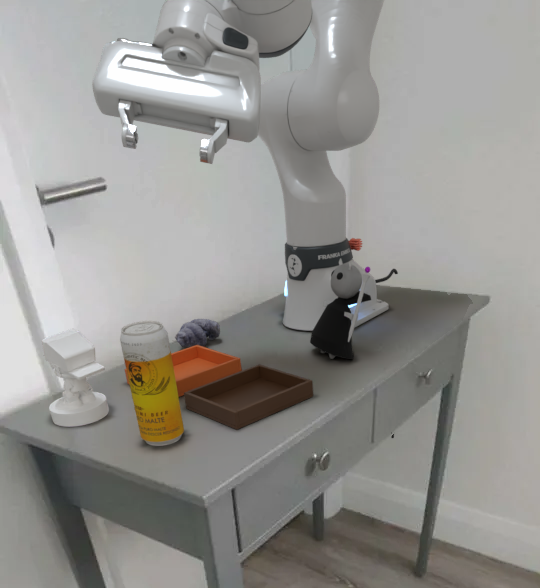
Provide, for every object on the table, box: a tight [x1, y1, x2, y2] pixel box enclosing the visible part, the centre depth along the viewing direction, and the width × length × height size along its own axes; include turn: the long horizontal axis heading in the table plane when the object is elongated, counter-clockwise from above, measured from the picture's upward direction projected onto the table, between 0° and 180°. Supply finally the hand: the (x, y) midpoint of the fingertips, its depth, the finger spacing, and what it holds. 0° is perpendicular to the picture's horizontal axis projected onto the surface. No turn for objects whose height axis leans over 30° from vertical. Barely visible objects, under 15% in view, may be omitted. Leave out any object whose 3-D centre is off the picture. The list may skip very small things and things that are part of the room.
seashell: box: [174, 318, 221, 348], centre depth 120 cm, size 5×5×10 cm
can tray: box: [124, 345, 243, 398], centre depth 108 cm, size 15×12×2 cm
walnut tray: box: [183, 363, 314, 430], centre depth 97 cm, size 15×12×2 cm
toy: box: [309, 258, 371, 360], centre depth 108 cm, size 12×7×15 cm, turn 22°
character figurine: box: [41, 328, 110, 428], centre depth 95 cm, size 9×10×12 cm
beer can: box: [119, 320, 185, 447], centre depth 86 cm, size 6×6×15 cm
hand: (167, 151), depth 77 cm, fingers open, 8 cm apart
